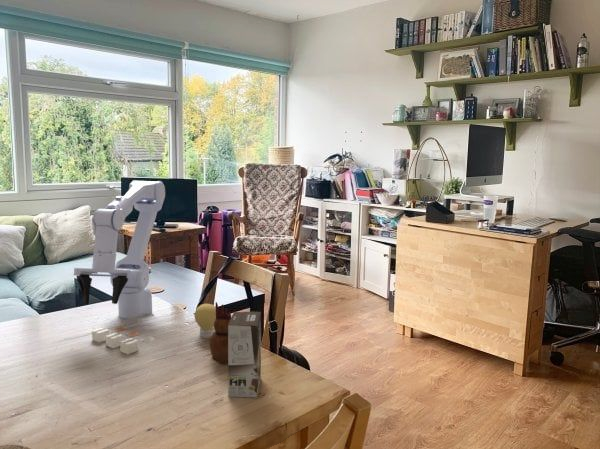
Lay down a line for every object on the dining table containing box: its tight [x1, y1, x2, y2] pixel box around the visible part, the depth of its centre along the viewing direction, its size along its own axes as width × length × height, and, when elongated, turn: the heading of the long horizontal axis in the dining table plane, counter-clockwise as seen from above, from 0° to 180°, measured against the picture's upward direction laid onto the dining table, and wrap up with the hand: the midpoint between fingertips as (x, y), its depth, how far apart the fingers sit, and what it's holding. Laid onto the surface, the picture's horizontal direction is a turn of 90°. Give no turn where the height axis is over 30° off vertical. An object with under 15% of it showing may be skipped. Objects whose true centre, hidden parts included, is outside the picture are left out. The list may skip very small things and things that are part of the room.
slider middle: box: [105, 332, 124, 349], centre depth 128 cm, size 3×3×3 cm
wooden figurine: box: [209, 301, 232, 364], centre depth 122 cm, size 7×6×15 cm
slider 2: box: [119, 337, 139, 355], centre depth 125 cm, size 3×3×3 cm
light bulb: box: [194, 303, 216, 339], centre depth 136 cm, size 6×6×10 cm
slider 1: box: [91, 327, 110, 344], centre depth 132 cm, size 3×3×3 cm
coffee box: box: [227, 311, 262, 398], centre depth 109 cm, size 9×6×16 cm
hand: (100, 303), depth 134 cm, fingers open, 7 cm apart
